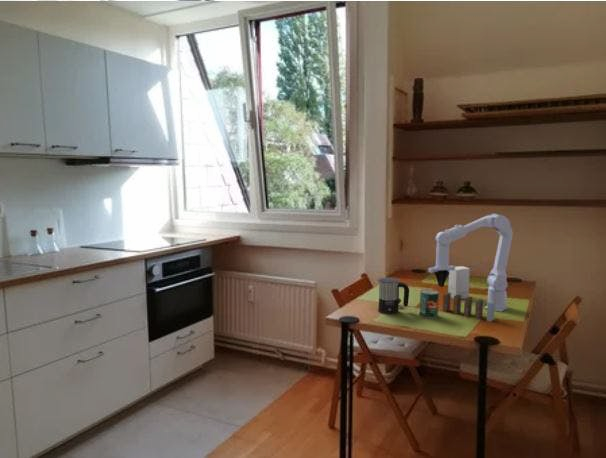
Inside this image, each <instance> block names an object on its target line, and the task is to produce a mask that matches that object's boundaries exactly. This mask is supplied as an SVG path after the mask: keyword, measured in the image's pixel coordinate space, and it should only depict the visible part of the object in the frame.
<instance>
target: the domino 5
mask: <svg viewBox="0 0 606 458" xmlns="http://www.w3.org/2000/svg"><path fill="white" fill-rule="evenodd" d="M487 302H488V301H487ZM486 306H487V305H486ZM494 320H495V302H494V301H490V302H488V306H487V310H486V322H489V323H490V322H493V321H494Z"/></svg>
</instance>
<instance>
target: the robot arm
mask: <svg viewBox="0 0 606 458" xmlns="http://www.w3.org/2000/svg"><path fill="white" fill-rule="evenodd" d="M510 223H511V221H510V220H509V219H508V218H507V217H506V216H504V215H503V214H498V213H491V214H488V215H485V216H483V217H480V218H479V219H476V220H474V221H472V222H469V223H467V224H466V225H462V224H455V225H454V227H452V228H449V229H448V228H447V229H445V230H444V231H439V232H437V234H436V236H435V241H436V250H435V251H436V253H435V265H434V266H432V267H428V268H427V269H428V270H427V271H428V273H430V274H432V273H434V276H435V277H436V280H437V286H438V287H440V288H443V287H444V286H445V283H446V281H447V278H449V270H455V267H456V266H455V265H449V264H450V262H449V261H450V244H451V242H454V241H457V240H459V239H462V238H464V237H466V235H467V233H470V232H473V231H475V230H478V229H480V228H483V227H487V228H492V229H494V230H495V231H496V233H497V234H498V235H499V238H498V239H499V240H498V242H497V248H496V253H495V259H494V262H493V263H494V264H493V268H492V269H491V270H490V272H489V275H488V276H487V278H486V283H487V285H488V290H487V304H486V306H483V309H487V306H488V302H490V301H494V302H495V310H494V312H495V311H496V312H503V311H504V310H507V309H508V308H509V306H508V305H507V303H508V301H507V299H508V293H507V291H506V289H507V288H508V282H507V281H508V280H507V278H508V275H507V272H506V271H507V266H508V260H509V256H510V250H511V245H512V240H513V236H514V232H513V229H512V226H511V224H510Z"/></svg>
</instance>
